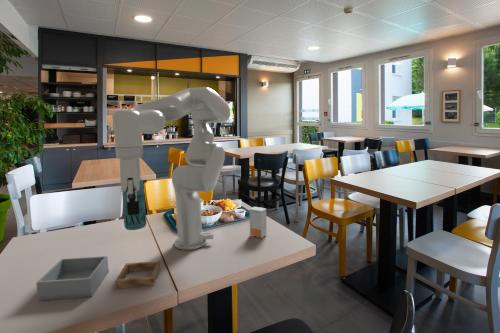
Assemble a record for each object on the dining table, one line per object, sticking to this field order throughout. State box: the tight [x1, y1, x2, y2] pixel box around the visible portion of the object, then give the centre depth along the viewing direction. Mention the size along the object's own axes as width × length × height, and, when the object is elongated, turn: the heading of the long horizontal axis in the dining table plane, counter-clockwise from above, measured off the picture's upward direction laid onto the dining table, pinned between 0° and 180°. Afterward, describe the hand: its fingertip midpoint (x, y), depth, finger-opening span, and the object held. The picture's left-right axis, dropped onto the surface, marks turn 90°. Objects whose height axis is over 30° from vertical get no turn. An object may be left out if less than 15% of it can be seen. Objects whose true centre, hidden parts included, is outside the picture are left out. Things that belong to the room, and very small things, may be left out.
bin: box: [36, 255, 110, 302], centre depth 91 cm, size 14×14×6 cm
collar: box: [114, 260, 161, 290], centre depth 95 cm, size 11×11×2 cm
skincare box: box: [249, 206, 267, 239], centre depth 126 cm, size 6×4×12 cm
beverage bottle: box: [121, 178, 147, 231], centre depth 91 cm, size 6×7×20 cm
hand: (134, 210), depth 92 cm, fingers closed on beverage bottle, 6 cm apart
